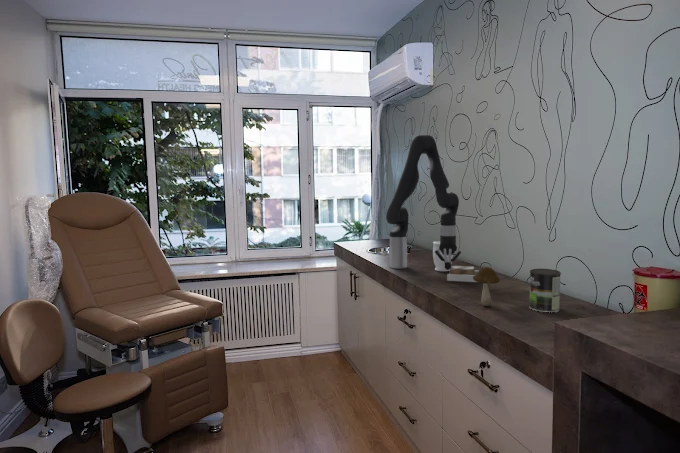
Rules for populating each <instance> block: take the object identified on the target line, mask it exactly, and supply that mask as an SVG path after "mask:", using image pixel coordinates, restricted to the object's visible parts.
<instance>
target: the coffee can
mask: <svg viewBox="0 0 680 453" xmlns="http://www.w3.org/2000/svg"><path fill="white" fill-rule="evenodd" d="M561 274H562V272H561V271H559V270H556V269H551V268H533V269H530V270H529V306H528V308H529V309H530V310H531V309H532V310H531V311H534V310H535V311H534V312H537V311H539V312H538V313H543V312H549V313H548V314H553V313H552V312H555V313H558V312H559V311H560V295H561V293H560V291H561V290H560V289H561ZM550 312H551V313H550Z"/></svg>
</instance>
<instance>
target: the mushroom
mask: <svg viewBox="0 0 680 453" xmlns="http://www.w3.org/2000/svg"><path fill="white" fill-rule="evenodd" d="M478 271H479V272H478V273H477V274H476V275H474V276H473V279H474V281H477V282H476V283H481V284H483V285H482V292H481V300H480V301H481V305H482V306H483V307H490V306H491V305H492V302H493V301H492V300H493V299H492V297H491V293H490V289H489V285H492V284H493V285H494V284H498V283H499V282H500V281H501V279H500V277H499V276H498V274H497V273H496V271H495V270H494V269H493V268H491V267H489V266H488V267H487V266H485V267H481V268H480V269H479V270H478Z"/></svg>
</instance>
